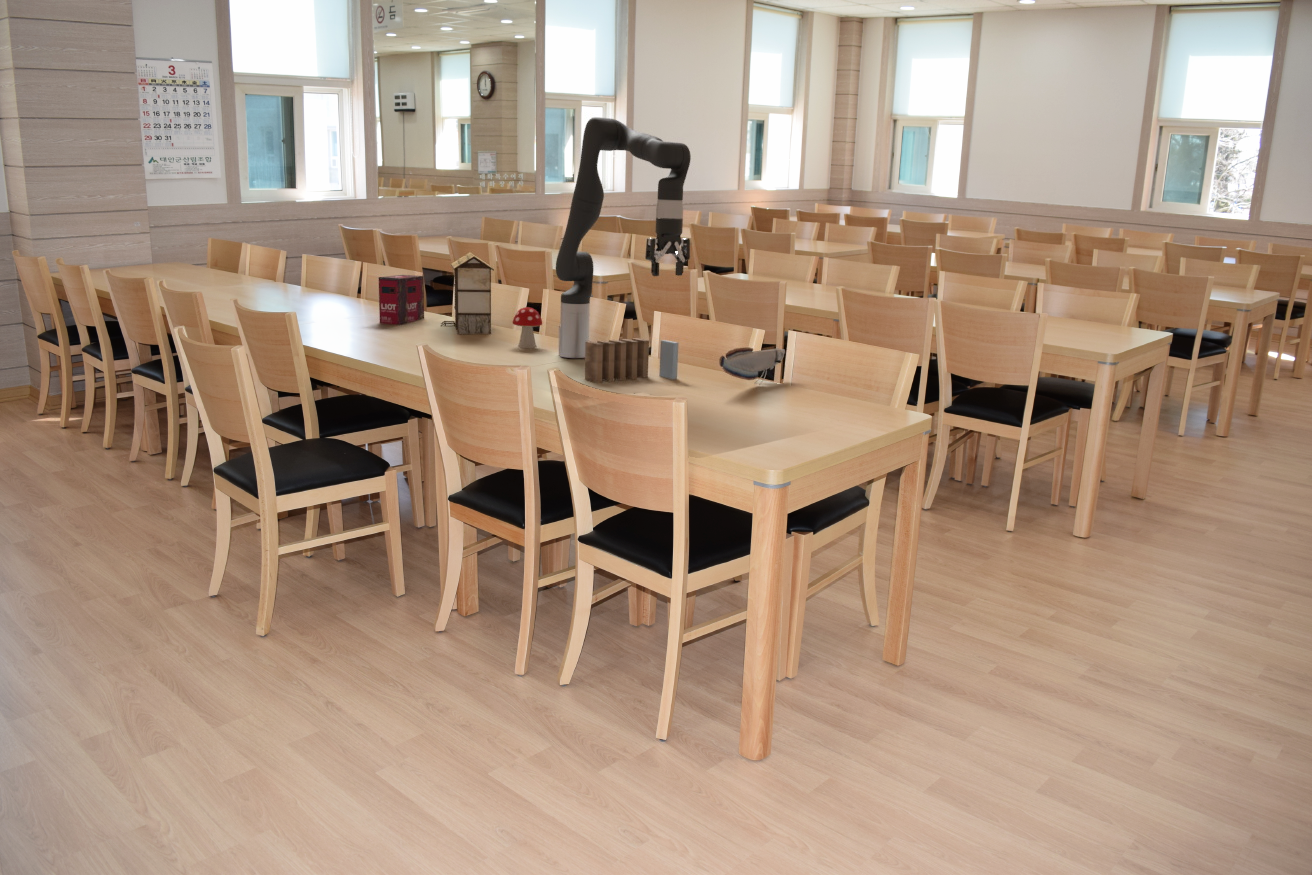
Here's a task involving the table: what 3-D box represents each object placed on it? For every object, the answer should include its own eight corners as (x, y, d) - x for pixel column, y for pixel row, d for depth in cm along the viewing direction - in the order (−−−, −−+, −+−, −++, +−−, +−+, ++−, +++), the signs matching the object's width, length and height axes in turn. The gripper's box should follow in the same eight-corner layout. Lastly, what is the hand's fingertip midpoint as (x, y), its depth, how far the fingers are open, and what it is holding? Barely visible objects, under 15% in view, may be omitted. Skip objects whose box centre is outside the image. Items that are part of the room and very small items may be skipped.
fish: (722, 395, 275) (725, 352, 272) (704, 391, 279) (706, 349, 276) (794, 382, 299) (797, 342, 296) (776, 379, 303) (779, 340, 300)
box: (404, 326, 390) (403, 274, 385) (424, 328, 387) (423, 276, 383) (379, 331, 375) (378, 277, 370) (400, 333, 372) (399, 278, 367)
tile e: (584, 379, 291) (585, 341, 288) (589, 378, 292) (590, 341, 289) (596, 382, 286) (597, 344, 284) (601, 382, 287) (602, 344, 285)
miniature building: (494, 342, 358) (493, 256, 352) (440, 341, 354) (438, 255, 347) (488, 332, 382) (488, 252, 375) (438, 332, 378) (437, 251, 371)
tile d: (596, 378, 293) (597, 340, 291) (601, 377, 294) (602, 340, 292) (608, 381, 289) (609, 343, 286) (613, 381, 290) (614, 343, 287)
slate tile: (659, 377, 299) (660, 340, 297) (664, 376, 300) (665, 340, 298) (672, 380, 295) (673, 343, 292) (676, 379, 296) (678, 342, 293)
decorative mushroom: (544, 351, 342) (544, 306, 338) (539, 354, 333) (539, 309, 330) (515, 349, 342) (515, 305, 339) (509, 353, 334) (509, 308, 331)
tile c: (608, 377, 296) (609, 340, 293) (612, 376, 297) (613, 339, 295) (620, 380, 291) (621, 342, 289) (625, 379, 293) (626, 342, 290)
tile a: (630, 374, 301) (631, 338, 299) (635, 374, 302) (636, 338, 300) (643, 378, 297) (644, 341, 294) (647, 377, 298) (649, 340, 295)
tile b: (619, 376, 299) (620, 339, 296) (624, 375, 300) (625, 338, 297) (631, 379, 294) (632, 341, 292) (636, 378, 295) (637, 341, 293)
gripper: (680, 217, 287) (677, 274, 290) (641, 216, 278) (639, 275, 281) (697, 218, 281) (694, 276, 285) (658, 217, 272) (655, 277, 276)
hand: (667, 275), depth 283 cm, fingers open, 8 cm apart
